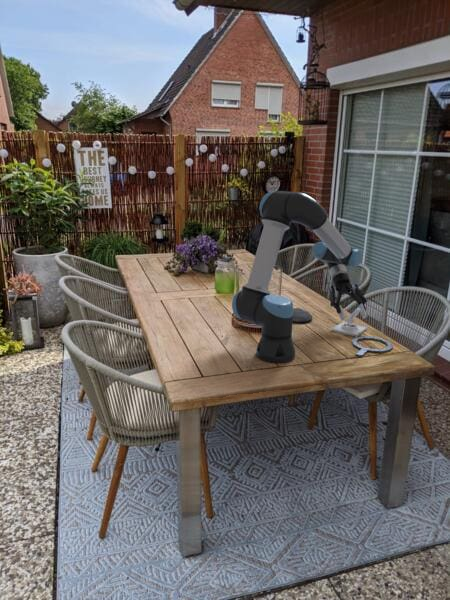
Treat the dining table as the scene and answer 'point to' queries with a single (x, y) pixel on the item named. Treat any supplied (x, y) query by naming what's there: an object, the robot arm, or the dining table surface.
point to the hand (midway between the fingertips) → (354, 318)
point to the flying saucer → (301, 315)
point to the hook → (351, 322)
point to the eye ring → (364, 350)
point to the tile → (351, 333)
